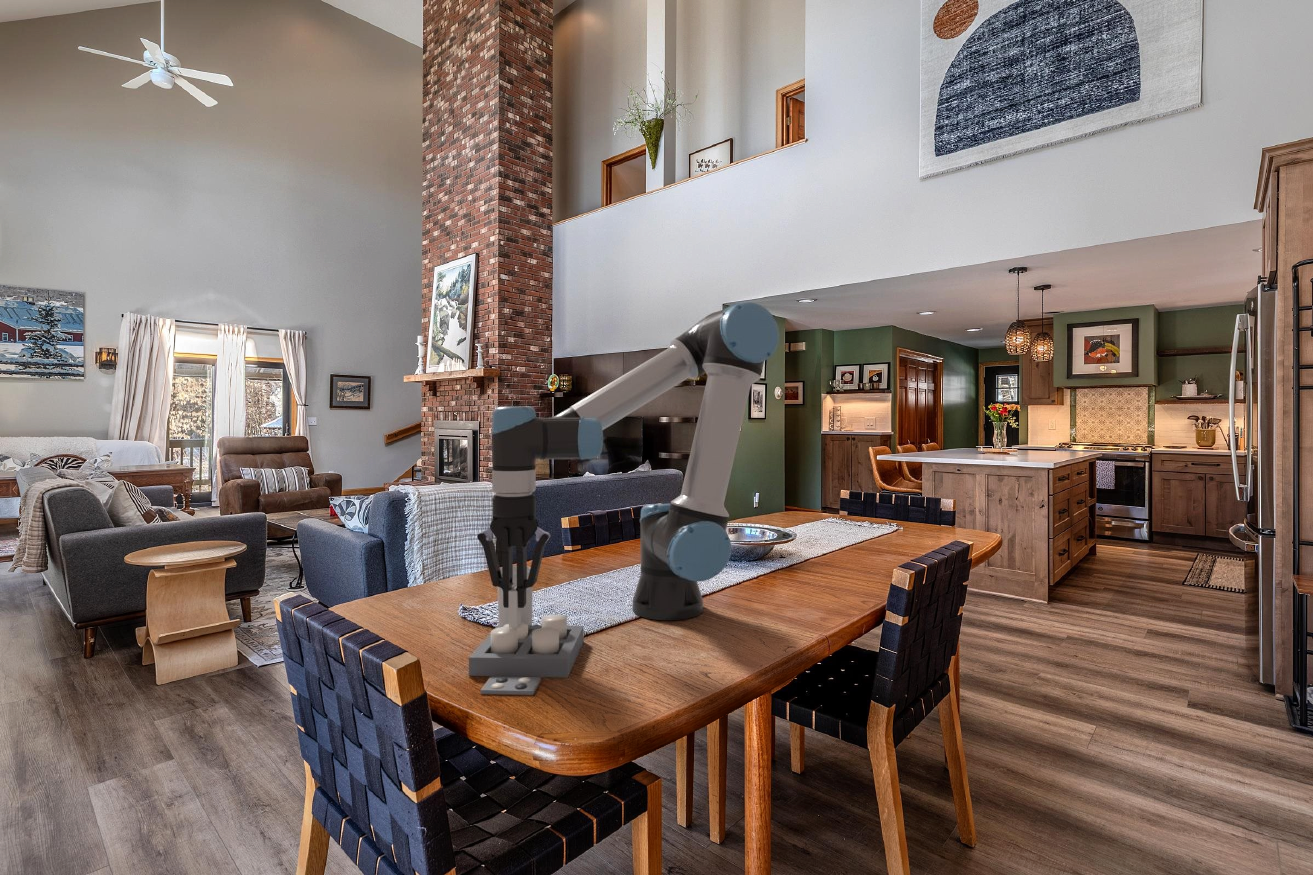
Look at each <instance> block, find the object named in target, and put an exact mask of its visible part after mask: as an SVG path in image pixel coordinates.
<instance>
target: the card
mask: <svg viewBox="0 0 1313 875" xmlns="http://www.w3.org/2000/svg"><path fill="white" fill-rule="evenodd" d="M541 678H542V677H505V676H489V678H488V679H487V681H485V683H484V685H483V686H482V687H481V689H480V695H509V696H510V695H515V696H516V695H517V696H519V695H521V696H533V695H534V694H535V692H536V691H537V689H538V687H539V685H540V683H541V681H542V679H541Z"/></svg>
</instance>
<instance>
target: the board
mask: <svg viewBox="0 0 1313 875" xmlns="http://www.w3.org/2000/svg"><path fill="white" fill-rule="evenodd" d="M503 626H504V625H499V624H497V625H496V626H495V628H494V629H496V628H500V627H503ZM584 626H585V625H567V639H559V654H532V632H533V631H534V630H536V629H539V628H542V624H541V625H539V624H537V625H536V624H535V625H534V624H532V625H528V637H527V638H526V639H518V651H517V652H516V654H500V653H491V632H490V633H489V634H488V635H487V637H485V639H484V640H483V641H482V642H481V643H480V644H479V645H478V647H477V648H476V649H475V650H474V651H473V653H471V654H470V655H469V657H468V676H469V677H491V676H494V677H541V678H562V679H563V678H565V679H566V678H567V679H568V678H569V676H570V673H571V671H572V669H573V666H574V665H575V662H576V660H577V657H578V655H579V653H580V651H581V649H582V646H583V644H584V641H585V639H584V636H585V635H584V634H585V633H584V632H585V629H584Z"/></svg>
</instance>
